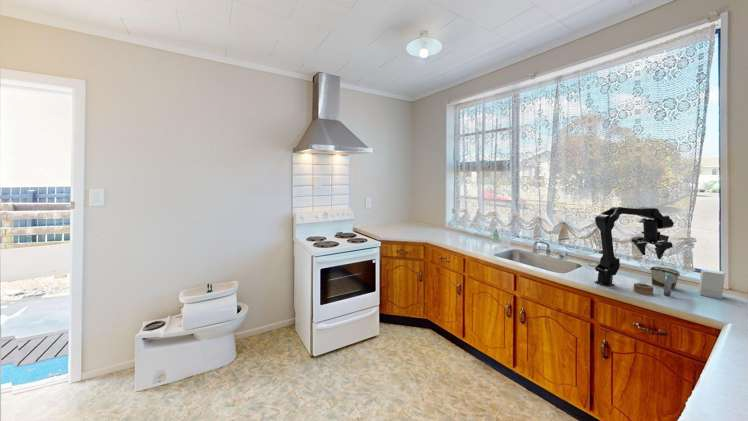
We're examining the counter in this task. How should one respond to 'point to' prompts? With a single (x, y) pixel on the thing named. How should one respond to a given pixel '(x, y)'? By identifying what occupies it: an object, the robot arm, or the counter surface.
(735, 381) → the counter surface
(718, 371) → the counter surface
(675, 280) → the food container
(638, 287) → the brown octagonal ring
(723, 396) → the counter surface
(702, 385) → the counter surface
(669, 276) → the teal-capped metal tube
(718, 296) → the supplement box
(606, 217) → the robot arm
